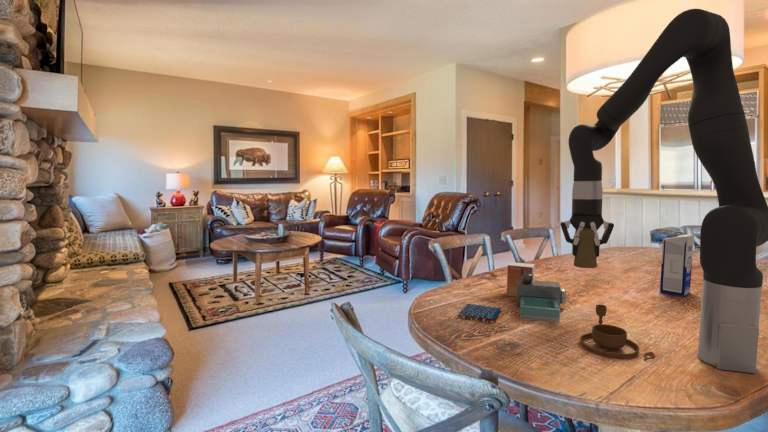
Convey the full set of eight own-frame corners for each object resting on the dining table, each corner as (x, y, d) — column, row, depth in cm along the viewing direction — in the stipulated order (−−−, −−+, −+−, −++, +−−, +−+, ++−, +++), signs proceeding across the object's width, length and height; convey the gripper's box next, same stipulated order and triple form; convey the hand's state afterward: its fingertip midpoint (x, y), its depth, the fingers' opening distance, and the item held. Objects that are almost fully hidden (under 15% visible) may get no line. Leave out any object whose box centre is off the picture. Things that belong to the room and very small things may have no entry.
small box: (506, 296, 131) (506, 264, 130) (509, 291, 136) (510, 261, 135) (531, 299, 127) (532, 267, 126) (534, 294, 132) (535, 263, 131)
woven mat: (466, 308, 121) (466, 302, 121) (502, 313, 116) (502, 306, 116) (456, 320, 111) (456, 313, 111) (495, 325, 107) (495, 318, 107)
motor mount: (570, 323, 106) (571, 289, 105) (516, 318, 110) (517, 285, 110) (563, 304, 122) (564, 274, 121) (517, 300, 126) (517, 271, 125)
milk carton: (684, 296, 128) (688, 235, 126) (659, 292, 133) (663, 233, 131) (690, 292, 133) (694, 233, 131) (666, 288, 138) (669, 231, 136)
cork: (600, 268, 109) (601, 228, 108) (576, 267, 110) (577, 228, 109) (593, 263, 115) (594, 226, 114) (570, 263, 116) (571, 226, 115)
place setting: (557, 344, 95) (558, 320, 94) (594, 324, 107) (595, 303, 107) (640, 372, 81) (642, 344, 81) (672, 345, 94) (673, 321, 93)
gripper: (560, 198, 110) (559, 259, 111) (619, 197, 105) (617, 261, 106) (558, 197, 117) (557, 254, 118) (612, 196, 112) (611, 256, 114)
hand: (585, 257), depth 112 cm, fingers closed on cork, 4 cm apart
